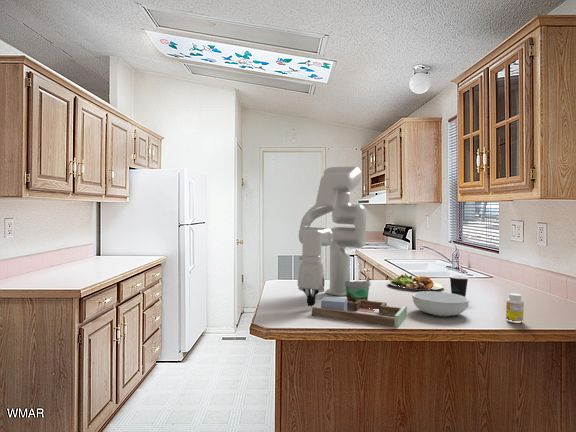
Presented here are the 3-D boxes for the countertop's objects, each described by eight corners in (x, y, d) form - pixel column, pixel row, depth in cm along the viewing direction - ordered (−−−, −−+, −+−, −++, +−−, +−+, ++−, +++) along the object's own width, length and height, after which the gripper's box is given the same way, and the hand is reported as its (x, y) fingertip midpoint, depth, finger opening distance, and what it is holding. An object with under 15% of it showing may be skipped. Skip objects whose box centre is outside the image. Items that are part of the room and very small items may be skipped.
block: (324, 310, 171) (325, 296, 171) (347, 312, 169) (347, 298, 169) (320, 314, 165) (321, 300, 165) (344, 316, 162) (344, 302, 162)
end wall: (403, 315, 163) (403, 305, 163) (406, 316, 163) (406, 305, 163) (394, 326, 149) (394, 315, 148) (398, 327, 148) (398, 315, 148)
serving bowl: (463, 324, 154) (463, 305, 153) (405, 315, 165) (405, 297, 165) (472, 312, 171) (473, 295, 171) (419, 305, 182) (420, 289, 182)
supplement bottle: (508, 319, 161) (508, 292, 160) (524, 322, 157) (525, 294, 157) (504, 322, 156) (505, 294, 156) (521, 325, 153) (522, 296, 153)
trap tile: (361, 308, 175) (361, 307, 175) (381, 310, 171) (381, 310, 171) (358, 310, 170) (358, 310, 170) (378, 313, 167) (378, 312, 167)
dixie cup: (466, 299, 193) (467, 275, 193) (469, 303, 185) (470, 278, 185) (447, 298, 195) (448, 274, 195) (449, 302, 187) (450, 277, 187)
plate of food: (378, 283, 233) (379, 272, 232) (423, 281, 240) (424, 270, 240) (406, 295, 206) (406, 283, 205) (455, 292, 213) (456, 280, 213)
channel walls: (331, 303, 182) (332, 296, 182) (406, 312, 169) (406, 304, 169) (311, 315, 162) (312, 307, 162) (394, 326, 149) (394, 318, 149)
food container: (352, 307, 176) (353, 283, 176) (344, 304, 182) (344, 280, 181) (376, 304, 182) (376, 281, 182) (367, 301, 187) (367, 278, 187)
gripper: (290, 259, 170) (290, 305, 171) (325, 262, 164) (325, 309, 164) (298, 257, 177) (297, 301, 178) (332, 260, 171) (331, 305, 171)
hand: (310, 305), depth 171 cm, fingers closed
